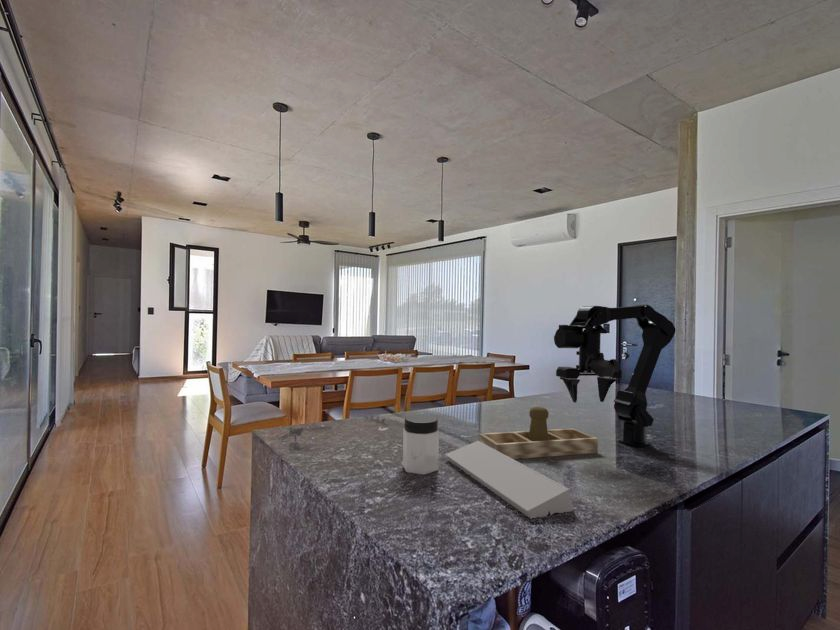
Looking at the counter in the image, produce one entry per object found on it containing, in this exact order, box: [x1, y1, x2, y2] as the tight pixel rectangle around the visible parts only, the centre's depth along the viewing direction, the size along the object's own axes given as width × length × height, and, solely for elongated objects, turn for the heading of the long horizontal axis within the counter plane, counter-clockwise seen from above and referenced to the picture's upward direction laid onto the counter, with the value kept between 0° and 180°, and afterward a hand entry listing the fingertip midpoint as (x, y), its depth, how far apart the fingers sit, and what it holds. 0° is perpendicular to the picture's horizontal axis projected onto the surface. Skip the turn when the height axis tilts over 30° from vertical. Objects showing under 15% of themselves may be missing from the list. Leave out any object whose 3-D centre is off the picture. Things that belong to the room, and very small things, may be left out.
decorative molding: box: [445, 440, 574, 520], centre depth 95 cm, size 34×5×10 cm
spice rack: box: [478, 428, 599, 460], centre depth 119 cm, size 31×11×4 cm, turn 106°
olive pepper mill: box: [528, 406, 549, 441], centre depth 119 cm, size 6×6×11 cm
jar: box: [402, 414, 440, 476], centre depth 102 cm, size 9×8×12 cm
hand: (588, 402), depth 123 cm, fingers open, 9 cm apart
